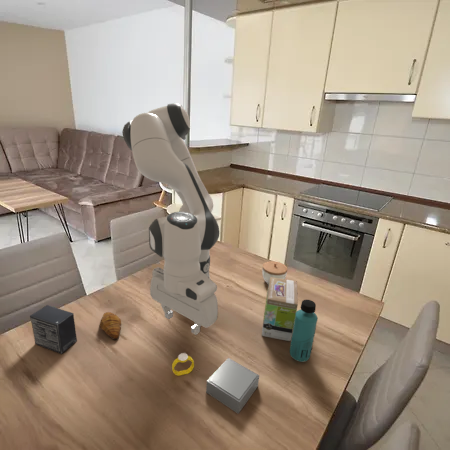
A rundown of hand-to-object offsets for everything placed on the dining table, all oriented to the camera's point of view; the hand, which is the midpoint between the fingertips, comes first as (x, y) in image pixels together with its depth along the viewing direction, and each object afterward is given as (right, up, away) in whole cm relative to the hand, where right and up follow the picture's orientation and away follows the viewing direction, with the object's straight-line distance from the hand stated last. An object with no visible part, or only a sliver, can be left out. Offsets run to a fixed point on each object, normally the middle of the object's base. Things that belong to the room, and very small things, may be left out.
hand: (181, 324), depth 79 cm
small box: (-40, -10, +14) cm, 44 cm away
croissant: (-26, -8, +21) cm, 35 cm away
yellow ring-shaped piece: (-1, -16, +6) cm, 17 cm away
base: (+13, -18, +2) cm, 22 cm away
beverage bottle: (+34, -15, +14) cm, 40 cm away
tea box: (+30, -9, +28) cm, 42 cm away
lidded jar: (+32, +1, +55) cm, 64 cm away
